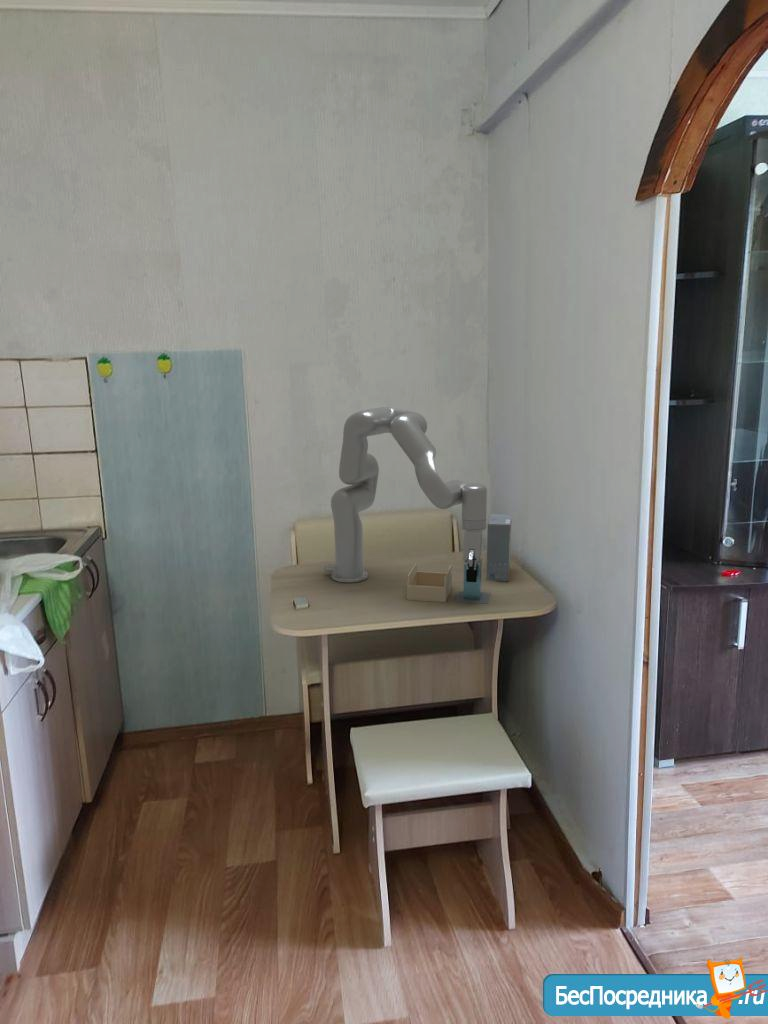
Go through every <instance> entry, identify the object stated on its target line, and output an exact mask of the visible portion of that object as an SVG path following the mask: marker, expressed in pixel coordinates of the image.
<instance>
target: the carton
mask: <svg viewBox="0 0 768 1024" xmlns="http://www.w3.org/2000/svg"><path fill="white" fill-rule="evenodd" d="M417 566H418V565H417V562H415V563H414V565H413V566H412V567H411V569H410V571H409V573H408V574H407V577H406V578H407V584H406V600H407V601H408V600H409V601H425V602H438V603H439V602H440V603H446V601H447V600H448V596H449V595H450V592H451V591H452V590H451V589H452V587H453V572H452V571H453V570H452V568H453V567H452V564H450V565H449V567H448V569H447V572H441V571H440V572H437V571H436V572H434V571H422V570H421V571H420V570H419V571H417Z"/></svg>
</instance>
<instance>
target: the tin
mask: <svg viewBox="0 0 768 1024" xmlns="http://www.w3.org/2000/svg"><path fill="white" fill-rule="evenodd" d="M467 560H468V559H467ZM473 560H475V559H473ZM482 562H483V557H480V559H479V561H478V562H477V564H476V569H477V582H467V581H466V569H467V561H465V562H464V561H463V591H464V597H463V599H470V600H480V597H481V592H482V568H483V567H482V565H483V564H482Z"/></svg>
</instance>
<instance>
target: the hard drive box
mask: <svg viewBox="0 0 768 1024" xmlns="http://www.w3.org/2000/svg"><path fill="white" fill-rule="evenodd" d="M512 516H513V515H512V514H501V513H500V514H497V513H495V514H493V513H491V514H489V518H488V521H487V526H486V531H487V532H486V535H487V536H486V561H485V562H486V563H485V565H486V566H485V580H486V581H495V582H505V581H508V582H509V577H510V569H511V567H510V566H511V548H512V547H511V546H512V544H511V542H512V537H511V536H512Z"/></svg>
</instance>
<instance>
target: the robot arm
mask: <svg viewBox="0 0 768 1024" xmlns="http://www.w3.org/2000/svg"><path fill="white" fill-rule="evenodd" d="M427 430H428V423H427V420H426V418H425V416H423V415H422V414H421V413H419V412H417V411H412V410H405V409H401V408H395V407H391V406H389V407H388V406H382V407H376V408H369V409H363V410H359V411H357V412H354V413H353V414H351V415H349V416H348V418H347V419H346V420H345V422H344V426H343V432H342V433H343V434H342V435H343V437H342V445H341V452H340V459H339V465H338V467H339V468H338V477H339V480H340V481H341V482H342V483H343V484H345V485H348V486H344V487H342V488H339V489H338V490H336V491H335V492H334V493H333V495H331V496H332V497H331V499H330V507H331V512H332V517H333V518H332V519H333V526H334V528H333V529H334V554H335V555H334V557H335V559H334V560H335V562H334V563H333V564H331V563H329V564H328V563H325V564H324V565H323V569H324V570H325V572H332V573H331V574H330V576H331V579H332V580H333V581H335V582H339V583H345V584H346V583H358V582H363V581H365V580H366V579H367V578H369V574H368V571H366V570H364V546H363V545H364V541H363V538H364V537H363V524H362V520H361V517H360V514H359V513H360V512H363V511H365V510H368V509H370V508H371V507H372V506H373V503H374V501H375V498H376V493H377V487H378V480H379V479H378V478H379V471H380V469H379V463H378V460H377V459H376V458H375V456H374V455H373V454H372V453H369V452H368V449H369V442H368V438H367V437H373V436H377V435H382V434H391V436H392V437H393V439H394V440H395V441H396V442H397V444H398V445H399V447H400V448H401V449H402V451H403V452H404V453H405V455H406V456H407V457H408V459H409V461H410V462H411V463H412V465H413V467H414V471H415V476H416V479H417V483H418V486H419V487H420V489H421V491H422V492H423V493H424V495H425V496H426V498H427V499H428V500H429V501H430V502H431V504H432V505H434V506H435V507H436V508H437V509H440V510H447V509H450V508H452V507H455V506H457V505H461V529H462V531H464V534H463V555H462V561H463V563H464V562H465V561H467V569H466V581H467V582H477V569H476V564H477V562H478V561H479V559H480V558H481V556H482V550H483V548H482V547H483V531H487V506H488V505H487V502H488V501H487V499H488V497H487V496H488V488H487V487H486V485H484V484H483V483H475V482H473V483H470V482H469V483H468V482H466V481H463V480H462V481H461V480H458V479H452V480H449V481H447V482H444V481H443V479H442V478H441V477H440V475H439V474H438V472H437V469H436V465H435V458H436V455H437V449H436V447H435V445H433V443H432V442H431V440H430V439H429V438H428V436H427V435H426V433H427ZM467 559H468V560H467ZM473 559H475V560H473Z"/></svg>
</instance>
